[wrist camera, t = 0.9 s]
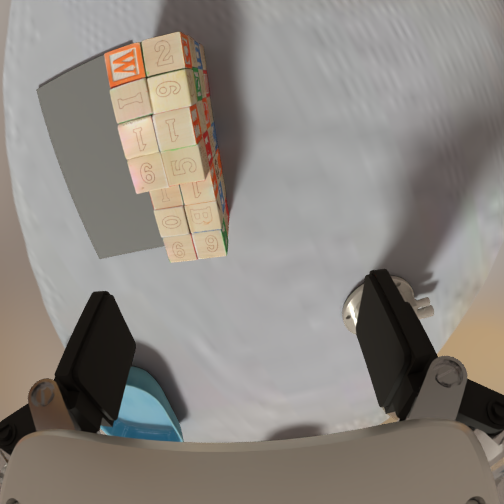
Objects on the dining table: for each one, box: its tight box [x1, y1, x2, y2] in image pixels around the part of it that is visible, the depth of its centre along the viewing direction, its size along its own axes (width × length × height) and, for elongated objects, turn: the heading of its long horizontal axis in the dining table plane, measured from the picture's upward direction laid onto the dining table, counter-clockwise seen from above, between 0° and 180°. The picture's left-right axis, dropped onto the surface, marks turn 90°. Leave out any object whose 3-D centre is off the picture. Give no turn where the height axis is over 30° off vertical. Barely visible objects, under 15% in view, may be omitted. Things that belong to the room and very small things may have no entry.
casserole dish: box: [100, 366, 184, 442], centre depth 60 cm, size 37×22×7 cm, turn 3°
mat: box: [37, 44, 165, 259], centre depth 34 cm, size 14×26×1 cm, turn 11°
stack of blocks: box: [104, 31, 229, 263], centre depth 28 cm, size 21×6×12 cm, turn 7°
